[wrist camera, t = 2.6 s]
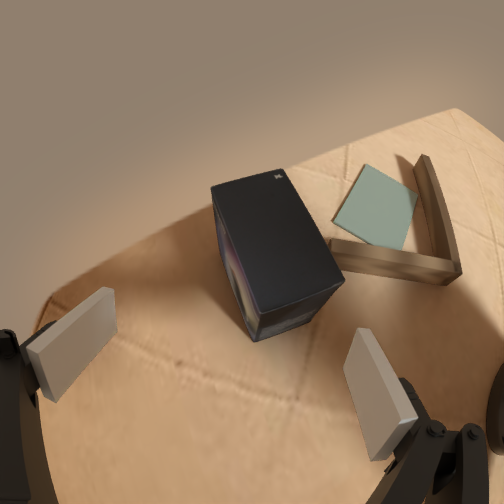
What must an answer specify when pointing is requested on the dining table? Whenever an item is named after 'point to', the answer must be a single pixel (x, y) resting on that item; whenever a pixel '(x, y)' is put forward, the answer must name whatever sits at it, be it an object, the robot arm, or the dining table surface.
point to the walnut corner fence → (406, 263)
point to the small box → (272, 253)
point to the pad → (378, 210)
